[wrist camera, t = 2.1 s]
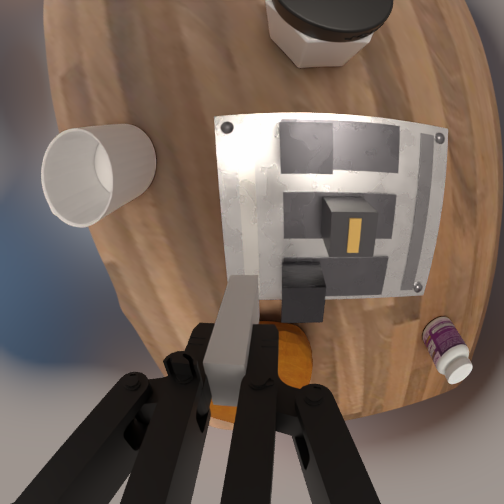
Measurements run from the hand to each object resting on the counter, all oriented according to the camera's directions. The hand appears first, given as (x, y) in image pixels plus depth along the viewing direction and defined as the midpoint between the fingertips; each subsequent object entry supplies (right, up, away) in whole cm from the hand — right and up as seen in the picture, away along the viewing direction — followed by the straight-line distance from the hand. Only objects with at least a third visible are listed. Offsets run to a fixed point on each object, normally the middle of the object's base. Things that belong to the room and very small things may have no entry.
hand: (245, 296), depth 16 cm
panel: (+9, +7, +13) cm, 18 cm away
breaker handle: (+9, +6, +11) cm, 16 cm away
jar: (+7, +24, +6) cm, 26 cm away
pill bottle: (+28, -9, +19) cm, 35 cm away
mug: (-16, +12, +14) cm, 24 cm away
